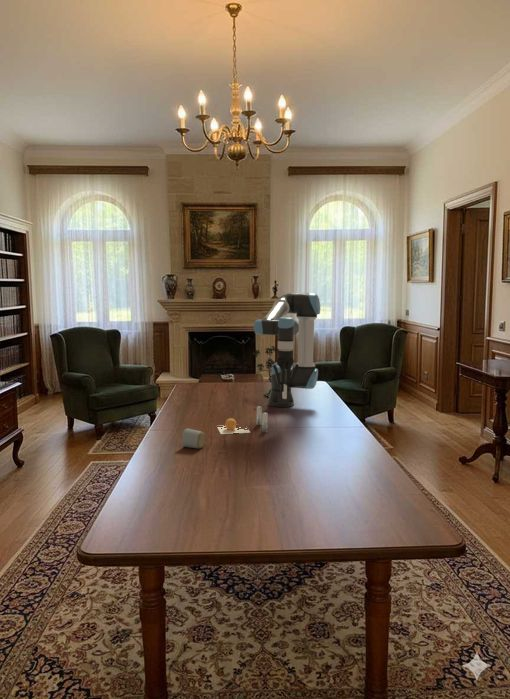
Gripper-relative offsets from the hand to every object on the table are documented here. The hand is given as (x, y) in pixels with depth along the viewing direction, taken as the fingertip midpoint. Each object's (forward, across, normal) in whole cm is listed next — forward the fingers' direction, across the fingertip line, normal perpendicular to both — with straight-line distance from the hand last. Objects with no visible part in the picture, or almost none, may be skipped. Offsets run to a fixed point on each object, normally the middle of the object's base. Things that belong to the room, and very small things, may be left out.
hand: (284, 398), depth 243 cm
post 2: (+14, +11, +6) cm, 19 cm away
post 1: (+14, +11, -6) cm, 19 cm away
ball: (+12, +26, +1) cm, 29 cm away
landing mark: (+14, +25, 0) cm, 29 cm away
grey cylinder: (+15, +45, +22) cm, 53 cm away
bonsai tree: (+15, -11, -68) cm, 70 cm away
